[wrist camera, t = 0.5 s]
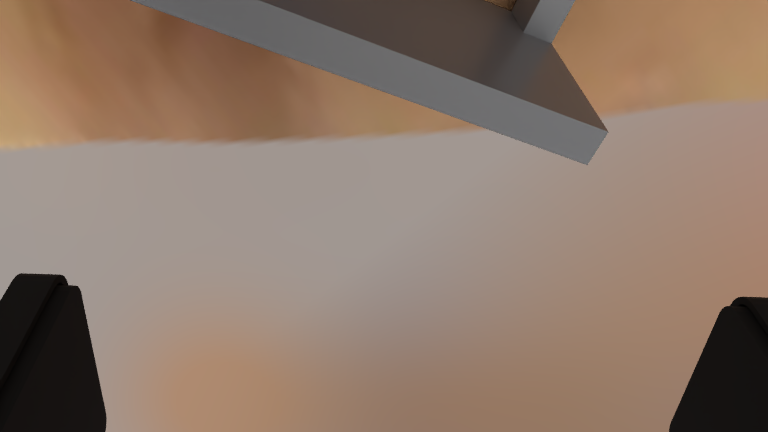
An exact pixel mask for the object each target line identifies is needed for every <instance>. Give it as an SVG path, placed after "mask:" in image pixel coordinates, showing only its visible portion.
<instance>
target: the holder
mask: <svg viewBox="0 0 768 432" xmlns="http://www.w3.org/2000/svg"><path fill="white" fill-rule="evenodd" d="M131 1H134V2H136V3H139V4H142V5H145V6H147V7H150V8H153V9H156V10H159V11H161V12H164V13H167V14H170V15H172V16H175V17H178V18H181V19H184V20H186V21H189V22H192V23H195V24H197V25H200V26H203V27H206V28H208V29H211V30H214V31H217V32H220V33H222V34H225V35H228V36H231V37H233V38H236V39H239V40H242V41H245V42H247V43H250V44H253V45H256V46H258V47H261V48H264V49H267V50H269V51H272V52H275V53H278V54H281V55H283V56H286V57H289V58H292V59H294V60H297V61H300V62H303V63H306V64H308V65H311V66H314V67H317V68H319V69H322V70H325V71H328V72H331V73H333V74H336V75H339V76H342V77H344V78H347V79H350V80H353V81H355V82H358V83H361V84H364V85H367V86H369V87H372V88H375V89H378V90H380V91H383V92H386V93H389V94H392V95H394V96H397V97H400V98H403V99H405V100H408V101H411V102H414V103H416V104H419V105H422V106H425V107H428V108H430V109H433V110H436V111H439V112H441V113H444V114H447V115H450V116H453V117H455V118H458V119H461V120H464V121H466V122H469V123H472V124H475V125H477V126H480V127H483V128H486V129H489V130H491V131H494V132H497V133H500V134H502V135H506V136H508V137H511V138H514V139H516V140H519V141H522V142H525V143H528V144H530V145H533V146H536V147H538V148H541V149H544V150H547V151H550V152H552V153H555V154H558V155H561V156H564V157H566V158H569V159H572V160H575V161H577V162H580V163H583V164H586V165H588V163H589V162H590V160H591V158H592V157H593V155H594V154H595V152H596V151H597V149H598V148H599V146H600V144H601V143H602V141H603V140H604V138H605V137H606V135H607V133H608V131H607V129H606V128H605V126H604V124H603V123H602V121H601V120H600V118H599V117H598V115H597V113H596V112H595V110H594V109H593V107H592V106H591V104H590V103H589V101H588V100H587V98H586V96H585V95H584V93H583V92H582V90H581V89H580V87H579V86H578V84H577V83H576V81H575V79H574V78H573V76H572V75H571V73H570V72H569V70H568V69H567V67H566V66H565V64H564V62H563V61H562V59H561V58H560V56H559V55H558V53H557V52H556V50H555V49H554V47H553V45H552V44H551V43H552V41H553V40H554V38H555V36H556V34H557V32H558V31H559V29H560V27H561V25H562V23H563V21H564V20H565V18H566V16H567V14H568V12H569V11H570V9H571V7H572V5H573V3H574V1H575V0H517V1H516V3H515V5H514V7H513V9H512V11H509V10H506V9H504V8H502V7H499V6H497V5H494V4H492V3H489V2H487V1H484V0H131Z"/></svg>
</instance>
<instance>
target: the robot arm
mask: <svg viewBox="0 0 768 432" xmlns="http://www.w3.org/2000/svg"><path fill="white" fill-rule="evenodd" d="M105 430H106V412H105V406H104V402H103V397H102V392H101V387H100V382H99V378H98V373H97V368H96V363H95V358H94V353H93V348H92V344H91V338H90V334H89V329H88V324H87V319H86V314H85V310H84V305H83V300H82V295H81V291H80V289H79V287H78V286H71V285H68V283H67V280H66V278H65V277H64V276H63V275H52V274H51V275H50V274H19V275H17V276H16V277H15V278H14V279H13V281H12V282H11V284H10V286H9V287H8V289H7V290H6V292H5V294H4V295H3V297H2V299H1V300H0V432H105ZM669 432H768V298H762V297H738V298H736V299H735V300H734V301H733V302H732V304H731V305H730V306H726V307H724V308H723V309H722V310H721V312H720V313H719V315H718V318H717V320H716V322H715V325H714V327H713V329H712V331H711V334H710V336H709V338H708V340H707V343H706V345H705V347H704V349H703V352H702V354H701V356H700V358H699V361H698V363H697V365H696V367H695V370H694V372H693V374H692V376H691V379H690V381H689V383H688V385H687V388H686V390H685V392H684V394H683V397H682V399H681V401H680V404H679V406H678V408H677V410H676V412H675V415H674V417H673V419H672V421H671V424H670V429H669Z"/></svg>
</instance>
